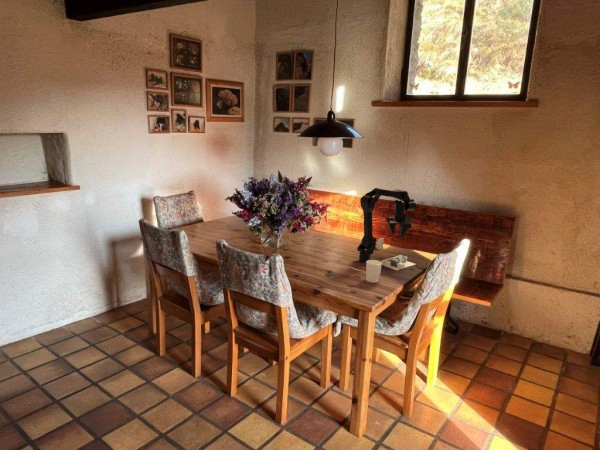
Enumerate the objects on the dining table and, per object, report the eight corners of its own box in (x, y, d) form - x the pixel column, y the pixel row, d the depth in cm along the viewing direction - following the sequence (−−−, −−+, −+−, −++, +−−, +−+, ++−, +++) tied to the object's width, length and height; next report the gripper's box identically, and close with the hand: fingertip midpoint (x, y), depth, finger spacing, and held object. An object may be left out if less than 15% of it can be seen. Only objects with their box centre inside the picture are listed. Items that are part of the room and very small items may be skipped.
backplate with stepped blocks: (396, 271, 236) (397, 265, 235) (381, 266, 245) (381, 259, 244) (415, 265, 248) (416, 259, 247) (400, 260, 256) (401, 254, 255)
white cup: (378, 277, 227) (379, 259, 224) (381, 283, 219) (383, 264, 217) (363, 277, 226) (365, 259, 224) (366, 283, 219) (367, 264, 216)
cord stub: (401, 269, 238) (401, 264, 237) (387, 264, 245) (388, 260, 245) (404, 268, 240) (404, 263, 239) (391, 263, 247) (391, 259, 246)
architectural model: (374, 249, 279) (374, 238, 277) (379, 247, 284) (379, 236, 282) (378, 250, 277) (379, 239, 275) (383, 248, 282) (384, 237, 280)
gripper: (420, 213, 250) (417, 239, 253) (401, 207, 266) (399, 231, 270) (404, 214, 245) (402, 240, 249) (386, 208, 262) (384, 232, 266)
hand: (397, 236), depth 259 cm, fingers open, 9 cm apart
